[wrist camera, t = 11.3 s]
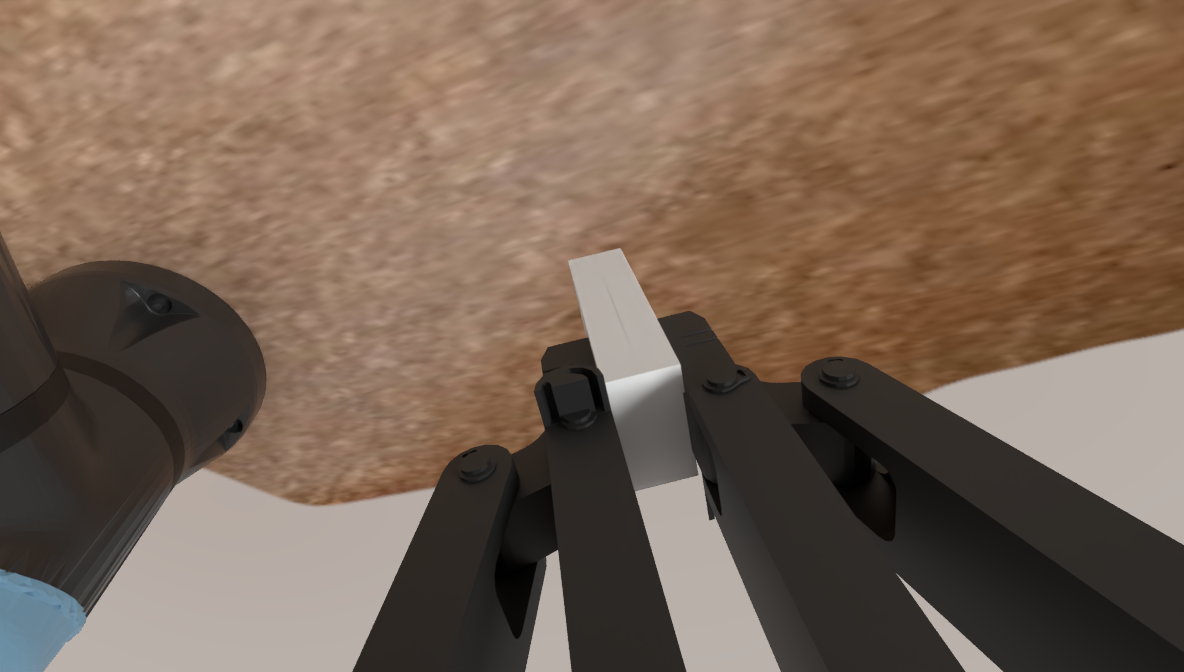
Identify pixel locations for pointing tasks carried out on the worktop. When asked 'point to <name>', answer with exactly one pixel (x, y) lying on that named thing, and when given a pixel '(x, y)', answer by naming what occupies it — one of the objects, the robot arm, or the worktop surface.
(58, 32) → the worktop surface
